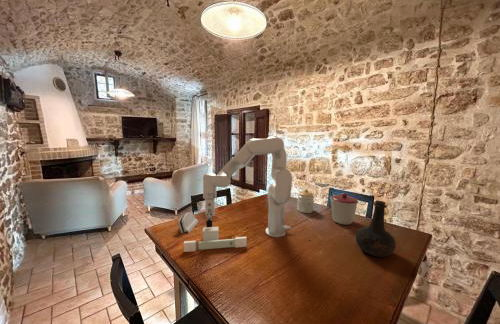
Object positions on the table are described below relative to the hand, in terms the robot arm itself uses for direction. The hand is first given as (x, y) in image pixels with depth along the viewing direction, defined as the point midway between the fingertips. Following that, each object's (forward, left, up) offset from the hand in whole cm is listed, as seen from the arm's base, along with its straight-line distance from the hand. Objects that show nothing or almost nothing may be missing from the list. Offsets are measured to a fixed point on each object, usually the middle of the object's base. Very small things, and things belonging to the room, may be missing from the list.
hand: (209, 223), depth 118 cm
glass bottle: (-87, +27, -10) cm, 91 cm away
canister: (-93, -9, -10) cm, 94 cm away
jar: (-76, -33, -10) cm, 83 cm away
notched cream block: (-4, +11, -10) cm, 15 cm away
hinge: (+14, -17, -10) cm, 24 cm away
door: (-3, +11, -9) cm, 15 cm away
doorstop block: (-1, 0, -10) cm, 10 cm away
